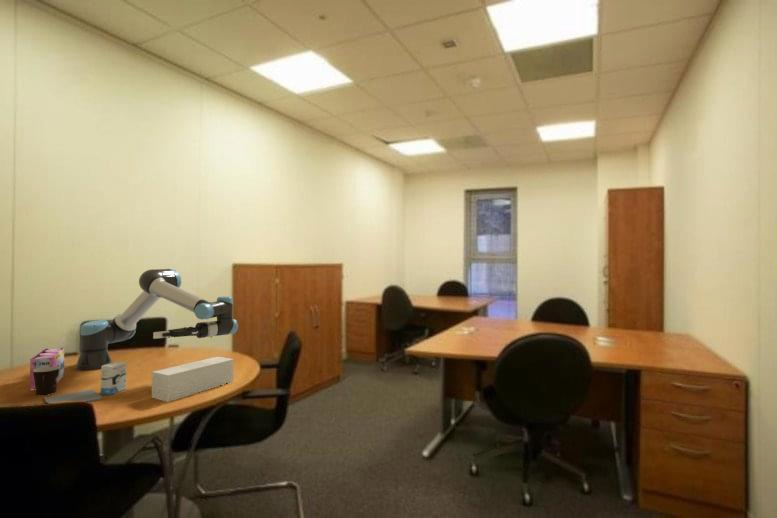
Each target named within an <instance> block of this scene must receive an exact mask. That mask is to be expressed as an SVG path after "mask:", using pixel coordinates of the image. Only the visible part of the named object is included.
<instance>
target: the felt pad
mask: <svg viewBox="0 0 777 518" xmlns="http://www.w3.org/2000/svg"><path fill="white" fill-rule="evenodd" d="M43 399H45V400H46V401H45V400H44V401H45V403H52V402H62V401H88V402H87V403H90V402H94V401H95V402H96V401H100V400H103V396H101V395H100V394H98V392H97V391H95V390H94V389H92V388H91V389H86V390H80V391H75V392H70V393H64V394H58V395H54V396H47V397H43Z"/></svg>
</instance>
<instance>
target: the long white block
mask: <svg viewBox="0 0 777 518" xmlns="http://www.w3.org/2000/svg"><path fill="white" fill-rule="evenodd" d="M234 360H235V359H234V358H227V357H223V356H213V357H209V358H206V359H200V360H198V361H197V360H196V361H192V362H188V363H183V364H180V365H175V366H170V367H166V368H163V369H158V370H153V371H151V398H153V399H156V400H160V401H164V402H167V403H169V402H172V401H176V400H179V399H182V398H185V397H188V396H192V395H195V394H198V392H199V393H202V392H205V391H208V389H209V390H212V389H215V388H218V387H221V386H220V385H222V386H224V385H223V384H225V385H227V384H226V383H228V384H230V383H229V382H232V381H233V382H234ZM233 382H232V383H233ZM217 386H218V387H217ZM214 387H215V388H214ZM211 388H212V389H211ZM204 390H205V391H204ZM201 391H202V392H201Z"/></svg>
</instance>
